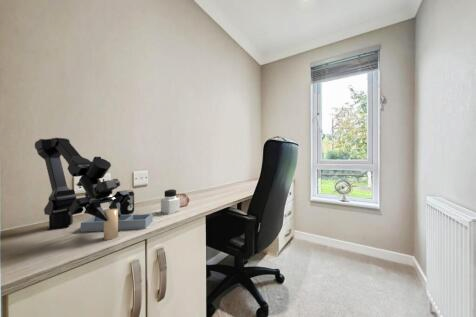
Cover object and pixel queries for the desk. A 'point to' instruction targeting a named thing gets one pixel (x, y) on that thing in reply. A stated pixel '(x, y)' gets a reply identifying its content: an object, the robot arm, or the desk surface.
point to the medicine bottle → (170, 202)
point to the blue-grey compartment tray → (119, 222)
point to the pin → (111, 224)
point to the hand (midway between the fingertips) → (113, 218)
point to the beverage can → (128, 204)
